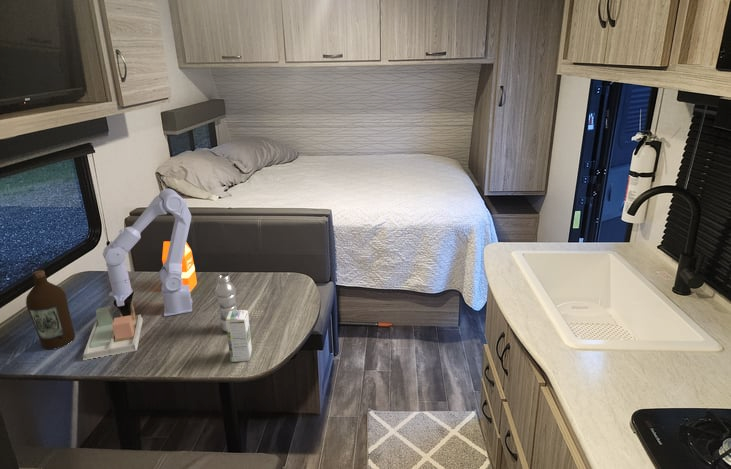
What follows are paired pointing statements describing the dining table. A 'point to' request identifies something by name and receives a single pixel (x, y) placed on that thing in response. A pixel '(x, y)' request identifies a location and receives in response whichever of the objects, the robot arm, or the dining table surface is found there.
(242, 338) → the syrup box
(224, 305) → the plastic bottle
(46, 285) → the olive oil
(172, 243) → the robot arm
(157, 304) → the dining table surface
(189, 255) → the orange juice
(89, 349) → the lane board
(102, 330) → the strip
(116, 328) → the block
